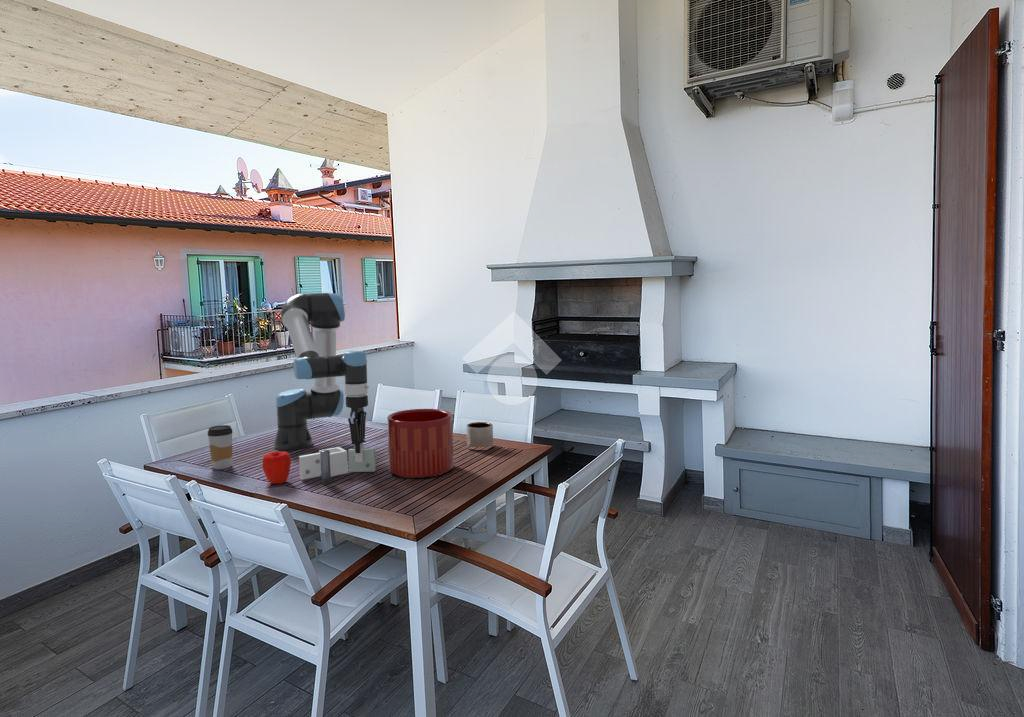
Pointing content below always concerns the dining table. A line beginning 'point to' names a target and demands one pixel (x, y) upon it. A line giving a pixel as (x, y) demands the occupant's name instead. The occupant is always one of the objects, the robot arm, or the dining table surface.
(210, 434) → the coffee cup
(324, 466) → the pin
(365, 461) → the loose leaf
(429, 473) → the planter
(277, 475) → the apple
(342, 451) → the fixed hinge
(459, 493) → the dining table surface
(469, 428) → the planter
